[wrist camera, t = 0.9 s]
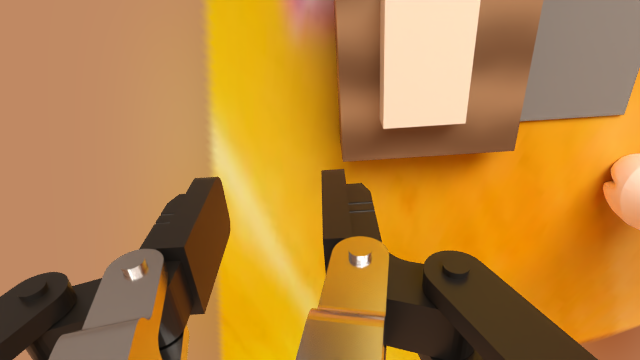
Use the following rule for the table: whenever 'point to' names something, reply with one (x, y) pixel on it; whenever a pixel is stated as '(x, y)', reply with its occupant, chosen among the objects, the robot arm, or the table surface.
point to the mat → (583, 59)
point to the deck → (484, 96)
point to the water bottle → (625, 189)
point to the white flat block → (426, 61)
